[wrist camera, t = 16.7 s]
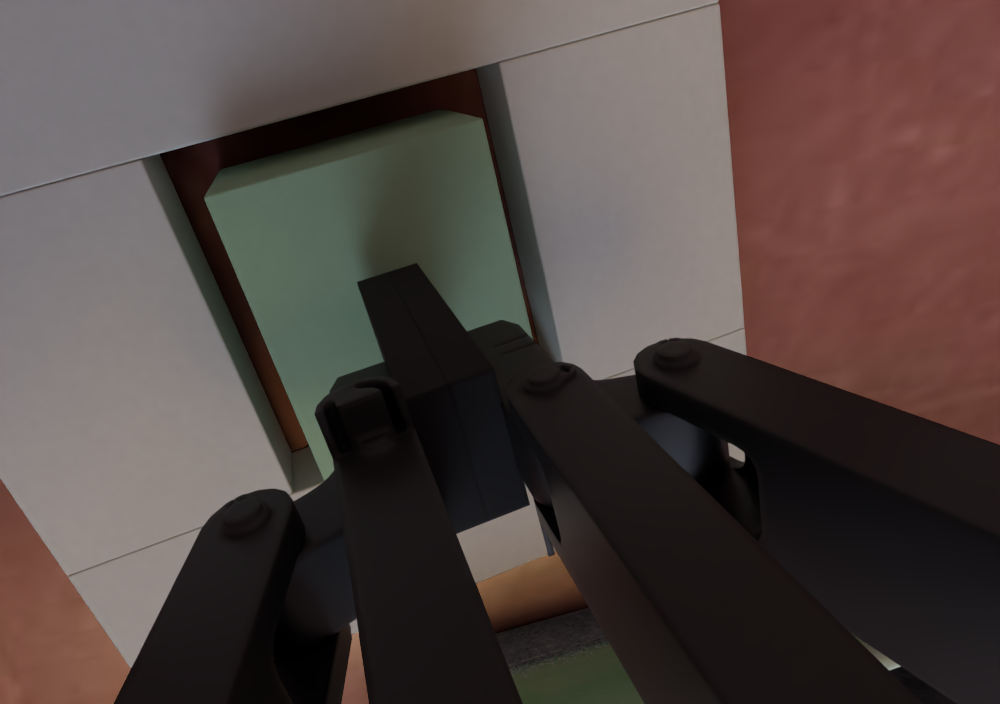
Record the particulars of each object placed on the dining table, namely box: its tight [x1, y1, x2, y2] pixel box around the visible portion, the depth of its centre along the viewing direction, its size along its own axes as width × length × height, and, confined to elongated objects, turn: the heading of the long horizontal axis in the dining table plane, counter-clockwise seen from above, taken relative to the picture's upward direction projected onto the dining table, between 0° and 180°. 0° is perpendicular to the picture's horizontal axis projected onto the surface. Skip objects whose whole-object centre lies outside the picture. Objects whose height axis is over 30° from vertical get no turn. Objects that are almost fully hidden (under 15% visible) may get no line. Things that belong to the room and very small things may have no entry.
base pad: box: [0, 0, 747, 668], centre depth 20 cm, size 22×22×2 cm
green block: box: [204, 109, 533, 481], centre depth 19 cm, size 8×6×4 cm
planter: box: [496, 608, 956, 704], centre depth 28 cm, size 28×7×7 cm, turn 93°
